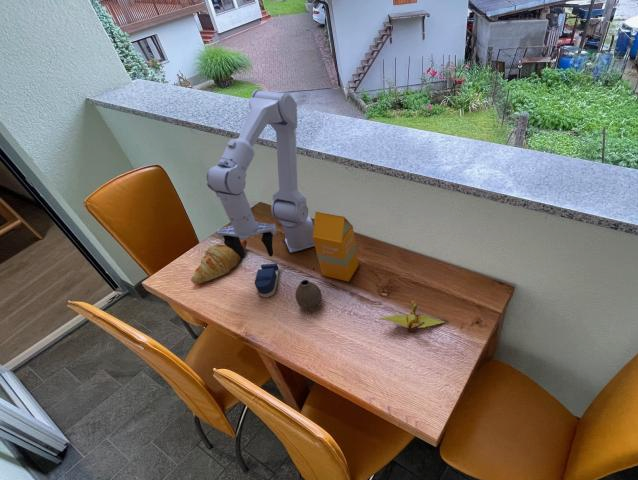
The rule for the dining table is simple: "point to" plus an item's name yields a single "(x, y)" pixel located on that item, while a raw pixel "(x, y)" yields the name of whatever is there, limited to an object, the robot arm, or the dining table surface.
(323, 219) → the orange juice
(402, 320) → the origami crane
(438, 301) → the dining table surface
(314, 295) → the vase
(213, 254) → the croissant
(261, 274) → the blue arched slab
